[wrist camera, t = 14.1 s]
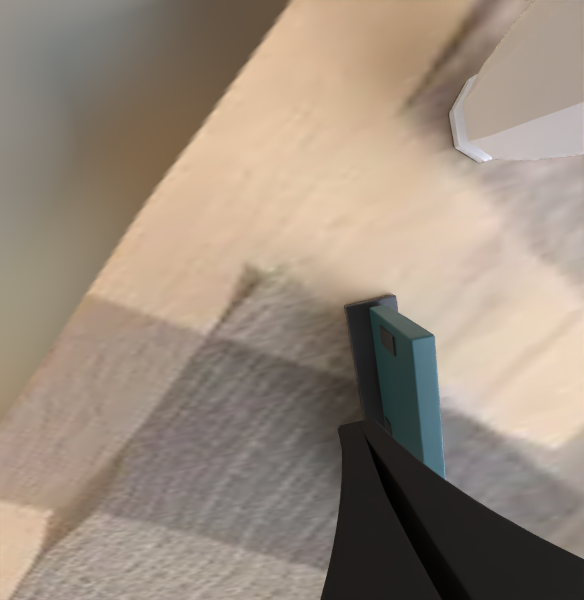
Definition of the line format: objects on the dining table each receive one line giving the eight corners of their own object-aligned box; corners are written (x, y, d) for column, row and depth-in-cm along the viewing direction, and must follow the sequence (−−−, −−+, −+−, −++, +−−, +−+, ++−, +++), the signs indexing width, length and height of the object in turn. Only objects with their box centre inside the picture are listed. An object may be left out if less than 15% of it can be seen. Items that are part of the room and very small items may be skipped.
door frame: (427, 508, 21) (564, 750, 11) (374, 521, 21) (465, 775, 11) (401, 292, 17) (578, 374, 7) (335, 307, 17) (423, 410, 7)
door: (406, 474, 19) (452, 558, 14) (390, 478, 19) (431, 563, 14) (385, 303, 16) (435, 334, 11) (367, 307, 16) (408, 340, 11)
